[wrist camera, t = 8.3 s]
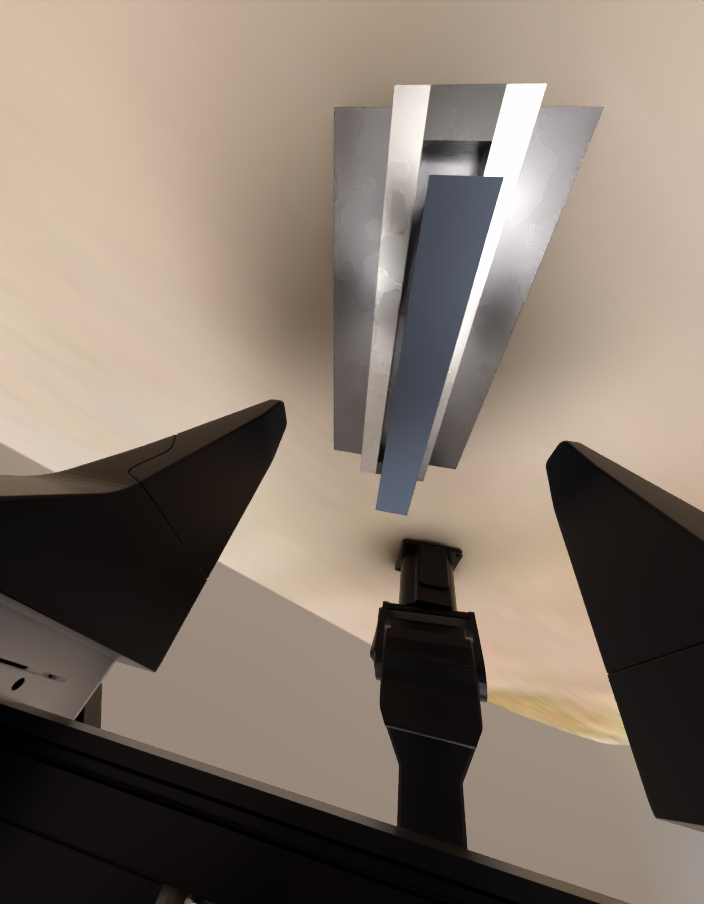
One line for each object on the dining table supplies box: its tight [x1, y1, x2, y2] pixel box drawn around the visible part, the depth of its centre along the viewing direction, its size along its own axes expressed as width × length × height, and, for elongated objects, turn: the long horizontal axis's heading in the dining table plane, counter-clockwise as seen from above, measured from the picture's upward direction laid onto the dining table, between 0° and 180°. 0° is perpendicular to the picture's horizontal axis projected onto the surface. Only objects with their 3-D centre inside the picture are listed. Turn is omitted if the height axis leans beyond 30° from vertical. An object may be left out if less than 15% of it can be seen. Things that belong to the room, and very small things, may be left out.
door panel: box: [376, 175, 504, 516], centre depth 13 cm, size 12×2×8 cm, turn 177°
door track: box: [334, 84, 604, 481], centre depth 15 cm, size 18×10×3 cm, turn 177°
